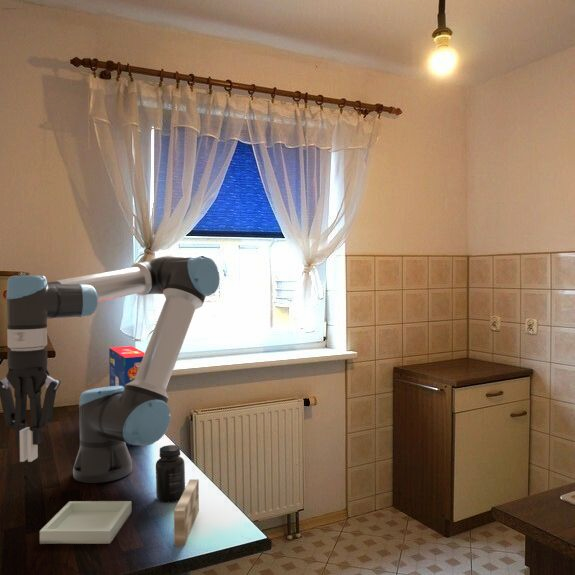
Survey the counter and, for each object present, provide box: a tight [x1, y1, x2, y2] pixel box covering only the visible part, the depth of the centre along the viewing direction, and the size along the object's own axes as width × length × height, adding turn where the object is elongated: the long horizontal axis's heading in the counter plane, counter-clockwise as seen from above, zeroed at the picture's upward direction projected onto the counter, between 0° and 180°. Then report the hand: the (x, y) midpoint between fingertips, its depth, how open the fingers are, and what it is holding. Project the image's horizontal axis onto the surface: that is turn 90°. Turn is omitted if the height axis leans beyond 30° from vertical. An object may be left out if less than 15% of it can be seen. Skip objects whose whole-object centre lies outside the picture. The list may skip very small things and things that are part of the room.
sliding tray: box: [39, 500, 133, 545], centre depth 111 cm, size 14×14×2 cm
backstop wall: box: [173, 478, 200, 547], centre depth 111 cm, size 16×2×7 cm, turn 0°
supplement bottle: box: [155, 444, 186, 503], centre depth 126 cm, size 7×7×12 cm
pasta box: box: [108, 345, 145, 446], centre depth 179 cm, size 28×8×28 cm, turn 29°
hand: (28, 459), depth 111 cm, fingers closed
